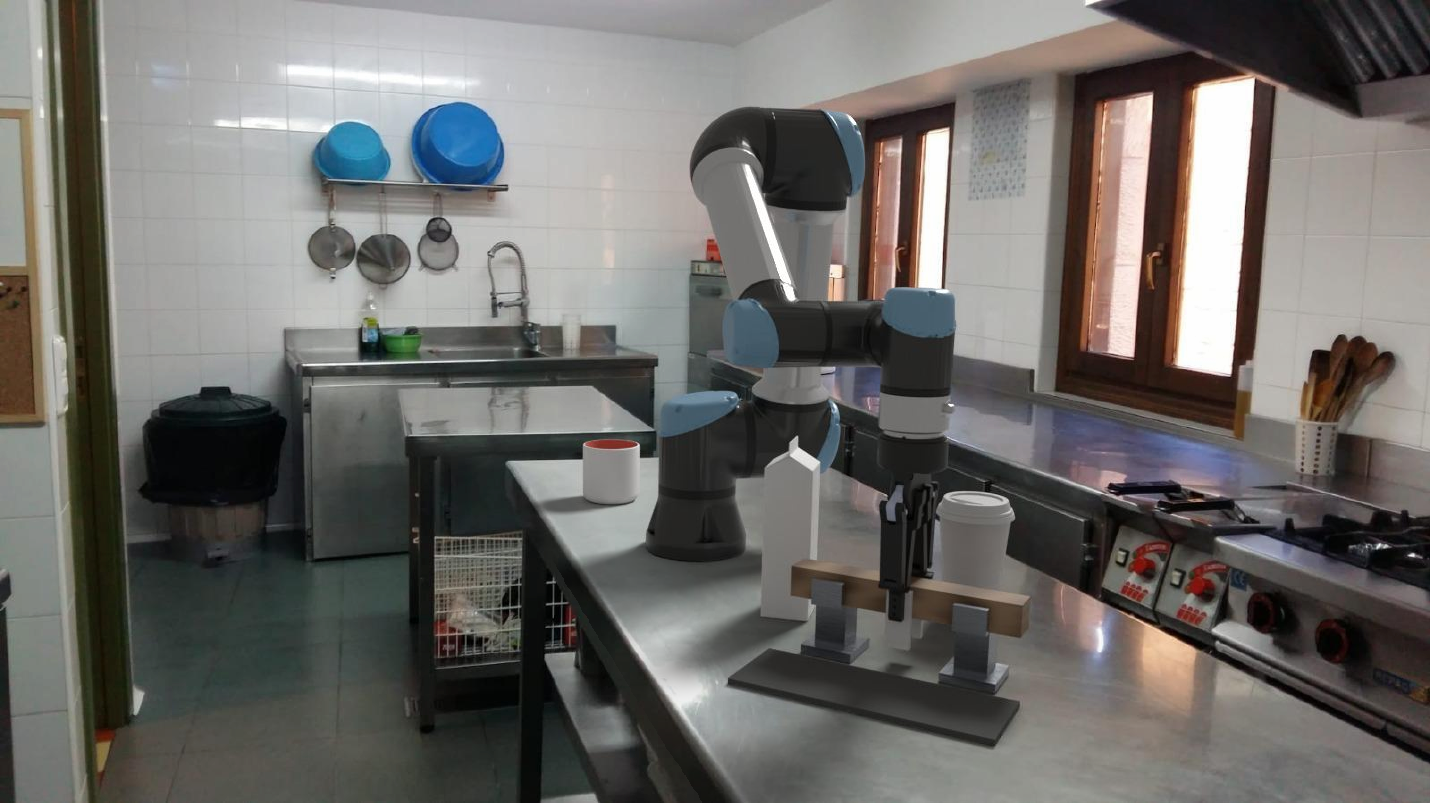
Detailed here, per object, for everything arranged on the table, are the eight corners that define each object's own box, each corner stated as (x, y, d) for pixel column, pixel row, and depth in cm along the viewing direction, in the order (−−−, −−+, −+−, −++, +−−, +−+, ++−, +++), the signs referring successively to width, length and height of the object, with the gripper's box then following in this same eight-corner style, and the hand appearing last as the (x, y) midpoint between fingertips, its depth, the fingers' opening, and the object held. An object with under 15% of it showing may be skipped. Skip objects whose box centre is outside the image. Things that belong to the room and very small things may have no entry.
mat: (727, 683, 115) (727, 677, 115) (768, 652, 124) (769, 647, 124) (994, 745, 102) (994, 739, 102) (1019, 706, 111) (1019, 701, 110)
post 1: (799, 653, 124) (801, 578, 122) (822, 635, 129) (824, 563, 128) (849, 663, 121) (852, 586, 120) (870, 645, 127) (873, 571, 125)
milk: (760, 617, 136) (763, 442, 132) (769, 601, 141) (773, 433, 138) (808, 622, 134) (813, 444, 131) (816, 606, 140) (821, 436, 137)
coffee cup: (916, 606, 140) (921, 492, 138) (977, 598, 144) (984, 487, 142) (960, 631, 132) (967, 510, 130) (1024, 622, 136) (1032, 504, 133)
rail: (790, 595, 125) (791, 565, 125) (802, 587, 128) (803, 558, 128) (1020, 638, 113) (1022, 605, 112) (1028, 627, 116) (1030, 596, 116)
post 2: (937, 682, 116) (941, 602, 115) (955, 662, 122) (959, 586, 121) (994, 694, 113) (999, 612, 112) (1009, 673, 119) (1014, 595, 118)
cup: (650, 498, 197) (650, 443, 195) (616, 508, 188) (616, 451, 187) (606, 490, 202) (606, 437, 201) (571, 500, 194) (571, 444, 192)
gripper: (923, 447, 109) (912, 673, 112) (969, 425, 123) (958, 625, 127) (852, 440, 112) (843, 658, 116) (904, 418, 127) (895, 613, 130)
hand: (903, 640), depth 121 cm, fingers closed on rail, 3 cm apart
